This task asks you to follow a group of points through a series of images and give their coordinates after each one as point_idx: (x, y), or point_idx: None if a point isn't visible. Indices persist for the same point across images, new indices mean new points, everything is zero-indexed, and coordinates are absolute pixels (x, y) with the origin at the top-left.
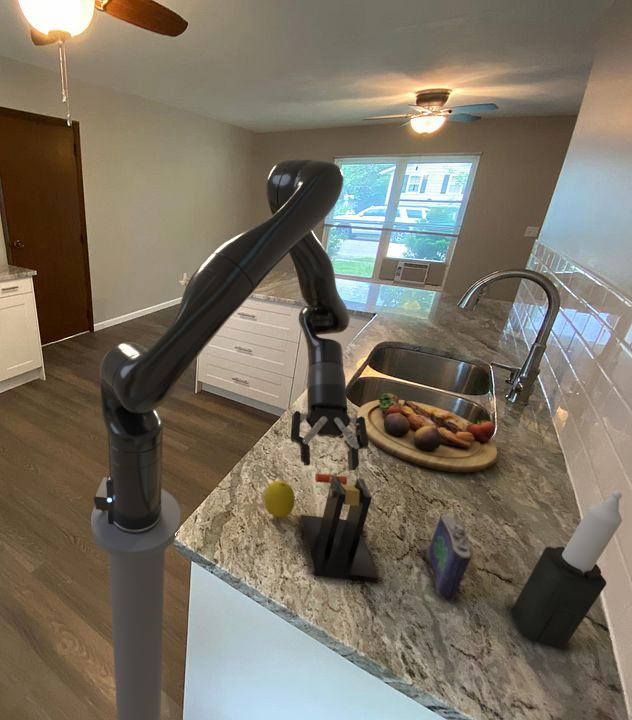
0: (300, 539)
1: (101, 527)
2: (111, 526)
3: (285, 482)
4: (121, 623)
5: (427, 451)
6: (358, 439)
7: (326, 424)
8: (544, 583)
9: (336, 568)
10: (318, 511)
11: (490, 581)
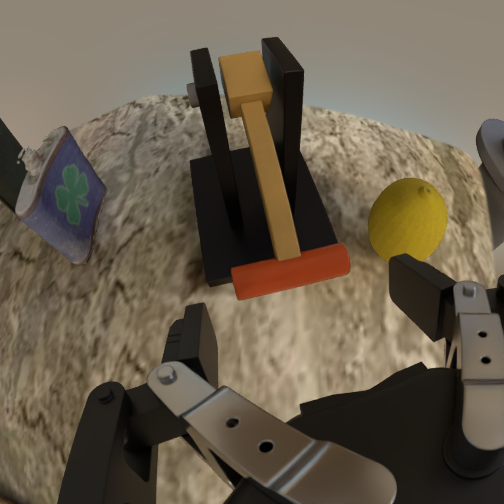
0: (327, 204)
1: None
2: None
3: (421, 212)
4: None
5: None
6: (144, 466)
7: (430, 436)
8: (5, 136)
9: None
10: (298, 303)
11: (33, 242)
